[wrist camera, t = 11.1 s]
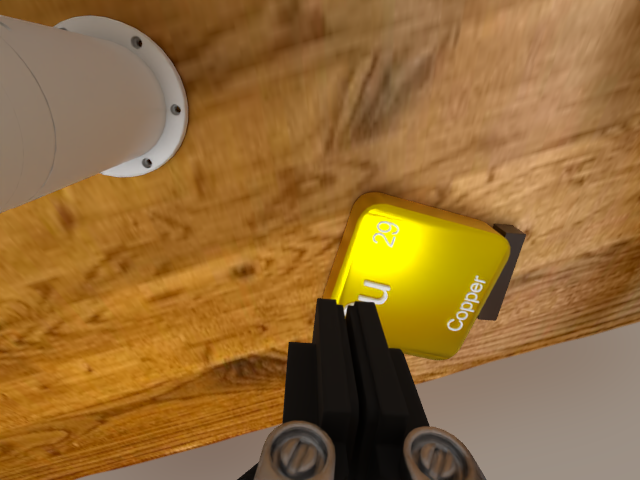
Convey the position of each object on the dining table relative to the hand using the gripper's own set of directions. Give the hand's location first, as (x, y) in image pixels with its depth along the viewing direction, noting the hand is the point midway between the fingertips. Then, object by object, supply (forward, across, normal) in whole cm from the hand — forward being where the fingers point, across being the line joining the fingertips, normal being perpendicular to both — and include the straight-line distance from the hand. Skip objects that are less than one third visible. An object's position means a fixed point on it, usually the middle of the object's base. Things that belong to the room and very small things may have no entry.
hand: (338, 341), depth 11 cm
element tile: (+25, -10, +10) cm, 29 cm away
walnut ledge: (+25, -20, +9) cm, 33 cm away
